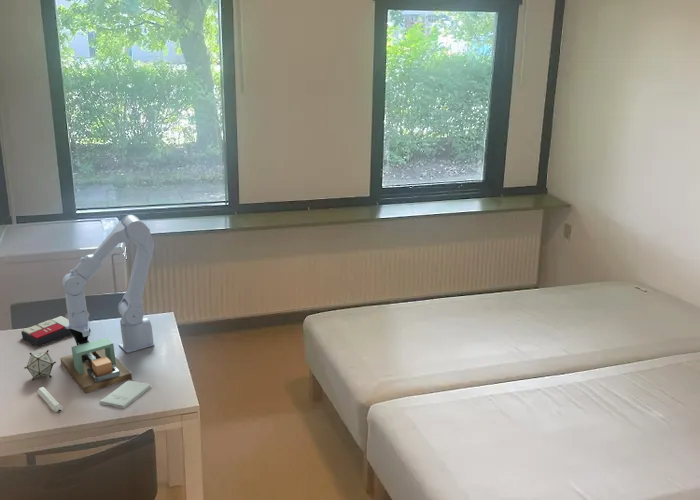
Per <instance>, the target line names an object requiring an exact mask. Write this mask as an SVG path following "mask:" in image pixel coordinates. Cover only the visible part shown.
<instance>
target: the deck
mask: <svg viewBox="0 0 700 500" xmlns="http://www.w3.org/2000/svg"><path fill="white" fill-rule="evenodd" d="M92 354H93V356H94V357H95V358H96V359H100V358H103V357H106V355H105V349H103V350H99V351H95V352H92ZM115 361H116V364H114V366H115V367H116V368H117V369H118V370H119V371H120V376H116V377H113V378H110V379H107V380H103V381H100V382H97V383H95V382H94V381H93V379H92V378H91V377H90V376H89V375H88V373H87V369H89V368H92V364H91V363H90V362H89V361H88V360H87V359H86V357H85V356H82V363H83V370H84V373H83V374H79V373H78V371H77V370H76V369H75V368H74V361H73V355H72V354H70V355H66V356H63V357H60V364H61V365H62V367H63V368H64V369H65V370H66V372H67V373H68V374H69V376H70V377H71V378H72V379H73V381H74V382H75V383H76V385H77V386H78V387H79V388H80V390H81V391H82V392H83V393H84V394H88V393H91V392H94V391H97V390H100V389H104V388H107V387H110V386H113V385H117V384H120V383H125V382H126V381H128V380H129V381H131V380H132V379H133V377H132V372H131V371H130V370H129V369H128V368H127V367H126V366H125V365H124V364H123V363H122V361H120V360H119V359H118V358H117V357H116V356H115Z"/></svg>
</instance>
